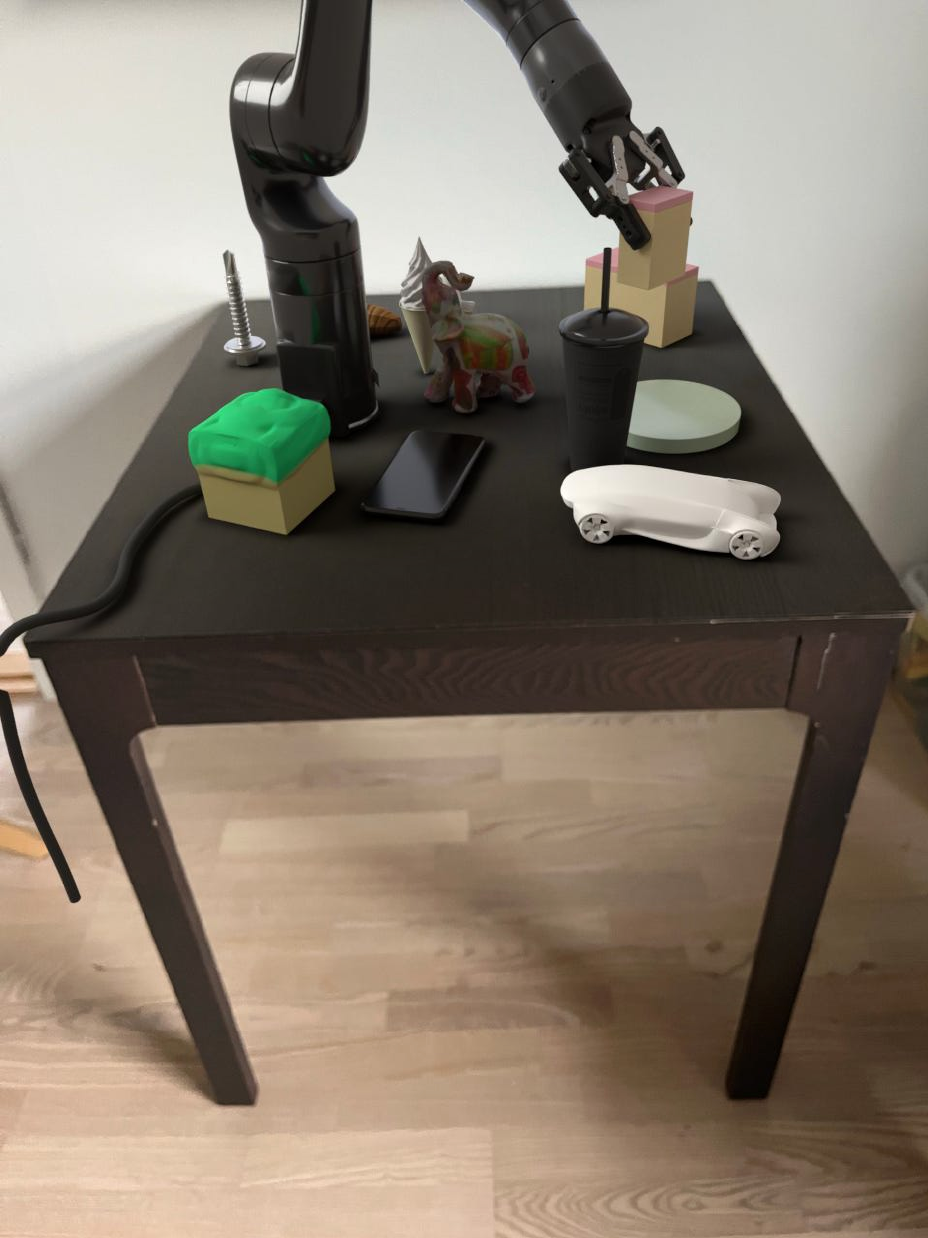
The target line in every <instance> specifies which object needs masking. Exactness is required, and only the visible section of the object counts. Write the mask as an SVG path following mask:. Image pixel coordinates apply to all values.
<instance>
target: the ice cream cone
mask: <svg viewBox="0 0 928 1238" xmlns="http://www.w3.org/2000/svg"><path fill="white" fill-rule="evenodd" d="M432 263H433V261H432V260H431V258H430V256H429V255H428V253H427V251H426V249H425V245H424V244H423V242H422V239H421V236H418V237H417V242H416V245H415V248H414V251H413V254H412V257H411V258H410V260H409V262H408V263H407V264H408V265H409V268H408V271H407V274H406V275H405V278H404V279H402V280H401V283H400V286H401V287H402V288H401V290H400V292H399V294H400V296H401V298H400V300H399V302H398V306H399V307H400V308H401V312H402V314H403V317H404V320H405V323H406V326H407V328H408V331H409V334H410V337H411V340H412V342H413V345H414V349H415V351H416V354H417V356H418V359H419V363H420V366H421V368H422V371H423V373H424V374H425V375H428V374H429V372H430V368H431V364H432V360H433V355H434V350H435V346H436V343H435V342H434V341H432V336H431V334H430V330H431V327H430V323H429V319H428V315H427V312H426V309H425V307H424V305H423V303H422V300H421V298H423V295H422V277H423V274H424V273H425V271H426V270H427V269H428V267H429V266H430V265H431V264H432ZM438 279H439V280H440V282H441V283H443V281H442V278H441V277H440V276H439V277H438Z"/></svg>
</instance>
